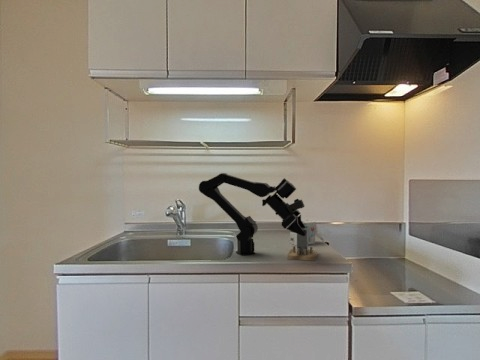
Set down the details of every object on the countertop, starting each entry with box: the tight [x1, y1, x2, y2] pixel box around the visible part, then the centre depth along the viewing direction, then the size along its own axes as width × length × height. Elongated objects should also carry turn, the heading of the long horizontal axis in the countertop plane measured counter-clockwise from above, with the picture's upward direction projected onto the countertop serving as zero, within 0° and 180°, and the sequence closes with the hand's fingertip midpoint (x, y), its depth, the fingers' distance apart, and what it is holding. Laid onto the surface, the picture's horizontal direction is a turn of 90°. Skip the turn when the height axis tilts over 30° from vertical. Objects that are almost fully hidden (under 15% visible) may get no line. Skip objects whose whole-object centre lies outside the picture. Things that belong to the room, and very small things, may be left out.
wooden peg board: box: [286, 245, 318, 261], centre depth 152 cm, size 11×12×4 cm
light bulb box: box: [289, 219, 316, 246], centre depth 179 cm, size 11×7×11 cm, turn 115°
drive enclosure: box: [296, 228, 309, 254], centre depth 152 cm, size 4×5×10 cm
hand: (305, 233), depth 152 cm, fingers open, 9 cm apart
